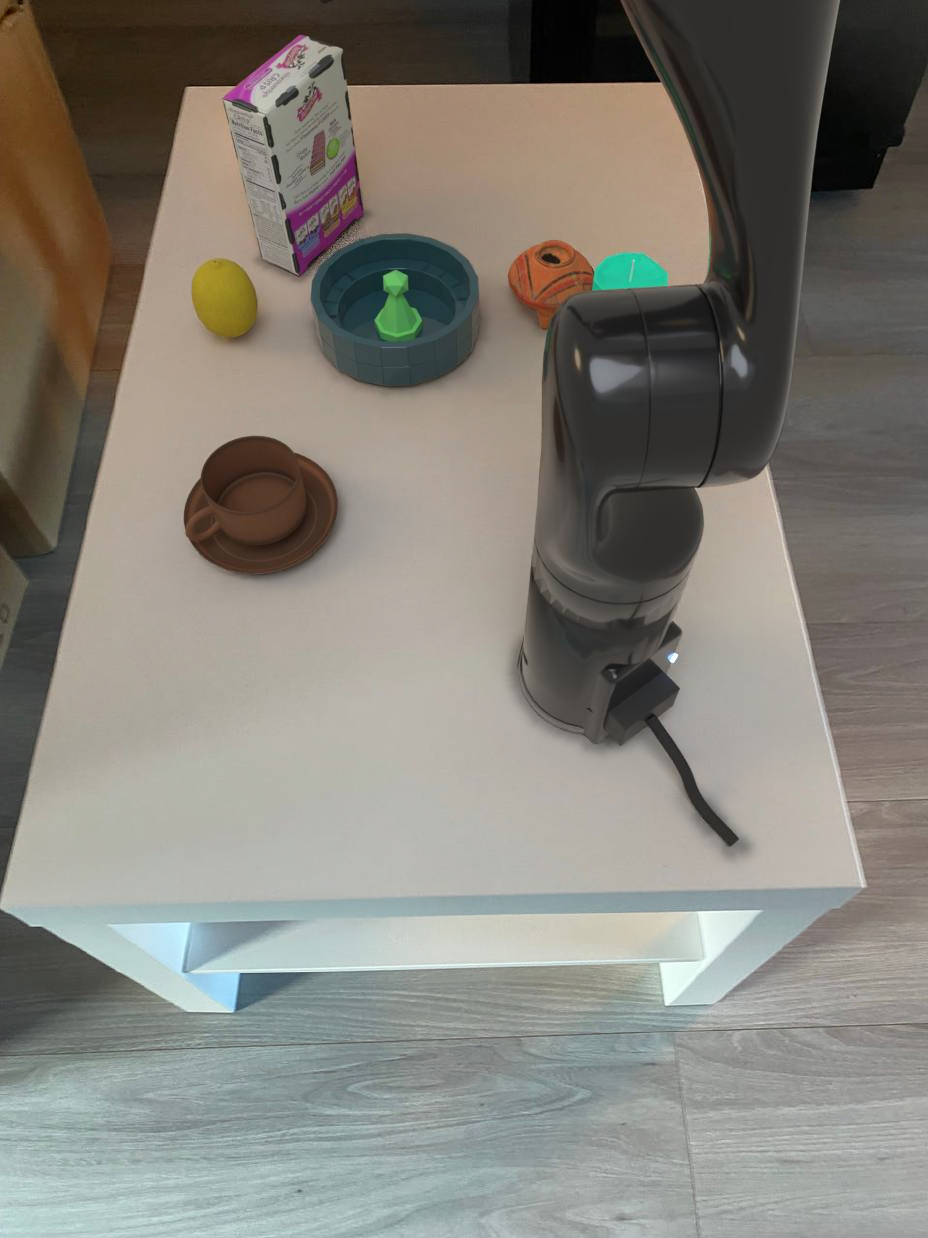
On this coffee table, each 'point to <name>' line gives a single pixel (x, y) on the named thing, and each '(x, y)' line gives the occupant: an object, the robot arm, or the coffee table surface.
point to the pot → (549, 277)
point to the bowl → (356, 297)
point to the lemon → (224, 297)
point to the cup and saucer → (259, 506)
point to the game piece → (397, 311)
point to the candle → (628, 272)
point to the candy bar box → (296, 152)
